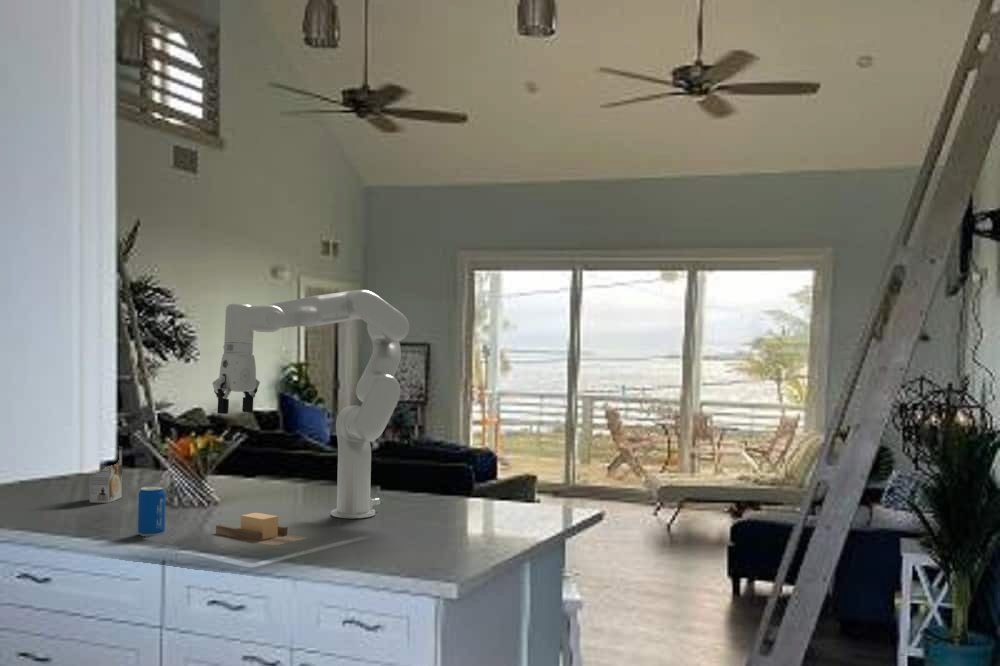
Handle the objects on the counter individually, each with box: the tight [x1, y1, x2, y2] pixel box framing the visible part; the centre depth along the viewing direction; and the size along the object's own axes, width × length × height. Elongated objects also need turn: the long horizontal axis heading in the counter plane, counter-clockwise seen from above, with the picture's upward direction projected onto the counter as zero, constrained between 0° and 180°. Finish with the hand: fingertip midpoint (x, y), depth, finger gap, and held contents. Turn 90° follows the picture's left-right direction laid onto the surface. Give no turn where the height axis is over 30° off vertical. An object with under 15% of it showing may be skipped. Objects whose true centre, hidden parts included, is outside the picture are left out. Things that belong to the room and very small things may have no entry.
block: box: [240, 512, 279, 539], centre depth 240 cm, size 5×8×5 cm, turn 57°
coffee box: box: [89, 446, 123, 504], centre depth 290 cm, size 9×6×16 cm
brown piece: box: [214, 524, 308, 547], centre depth 239 cm, size 12×22×3 cm, turn 56°
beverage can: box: [137, 485, 166, 538], centre depth 243 cm, size 6×6×12 cm
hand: (235, 412), depth 255 cm, fingers open, 9 cm apart
